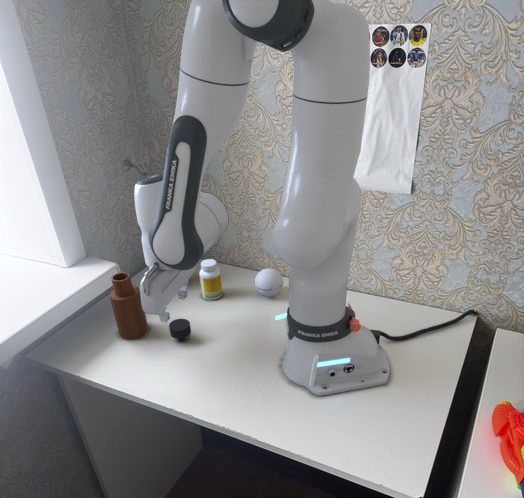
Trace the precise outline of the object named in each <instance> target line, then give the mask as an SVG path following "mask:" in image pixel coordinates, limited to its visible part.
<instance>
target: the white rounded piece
mask: <svg viewBox="0 0 524 498" xmlns="http://www.w3.org/2000/svg"><path fill="white" fill-rule="evenodd" d="M254 286H255V290H256V291H257V292H258V293H259V295H261V296H263V297H266V298H271V297H275V296H276V295H278V294H279V293H280V292H281V291H282V289H283V287H284V278H283V275H282V274H281V273H280V272H279V271H278V270H276V269H275V268H272V267H267V268H263V269H261V270H260V271H259V272H258V273H257V274H256V276H255V277H254ZM285 287H286V288H287V287H288V288H289V285H287V286H286V285H285Z"/></svg>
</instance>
